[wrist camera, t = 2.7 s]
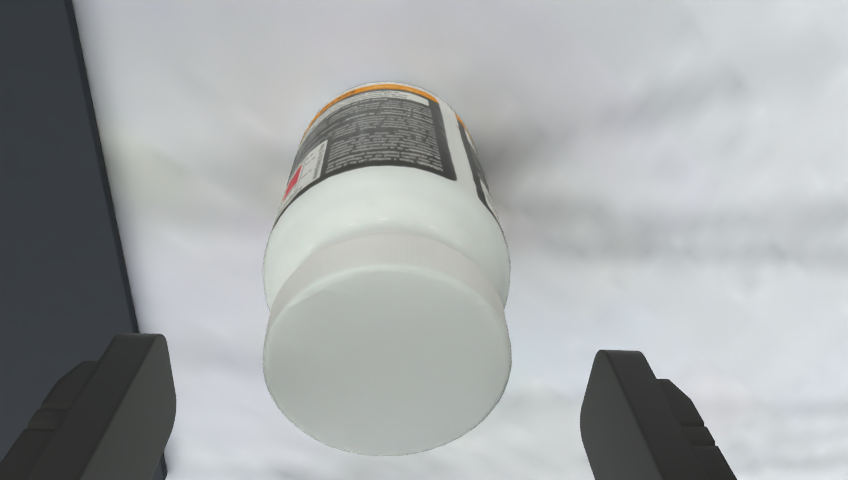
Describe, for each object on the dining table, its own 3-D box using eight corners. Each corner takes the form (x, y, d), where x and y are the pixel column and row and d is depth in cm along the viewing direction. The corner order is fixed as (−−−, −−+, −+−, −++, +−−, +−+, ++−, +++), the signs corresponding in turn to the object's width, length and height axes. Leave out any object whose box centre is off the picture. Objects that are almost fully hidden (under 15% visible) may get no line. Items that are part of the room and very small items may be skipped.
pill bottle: (271, 193, 20) (182, 419, 12) (351, 39, 18) (312, 181, 9) (420, 265, 22) (436, 508, 13) (511, 131, 20) (601, 324, 11)
